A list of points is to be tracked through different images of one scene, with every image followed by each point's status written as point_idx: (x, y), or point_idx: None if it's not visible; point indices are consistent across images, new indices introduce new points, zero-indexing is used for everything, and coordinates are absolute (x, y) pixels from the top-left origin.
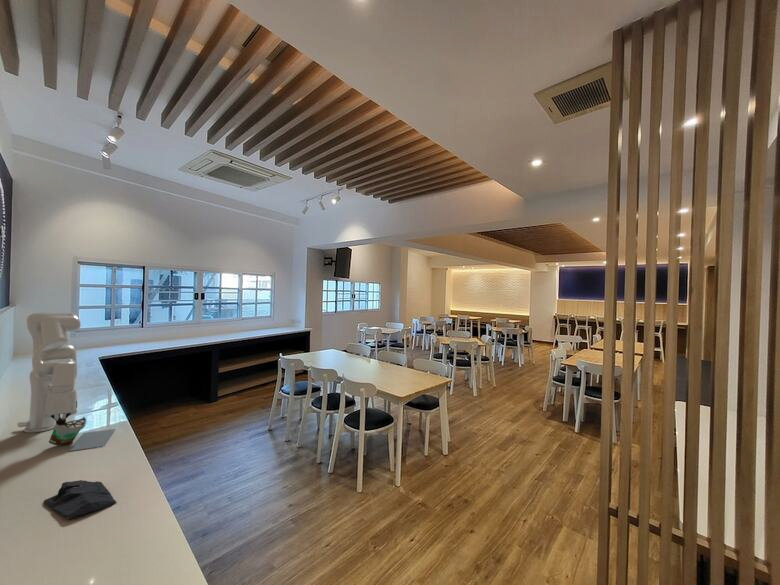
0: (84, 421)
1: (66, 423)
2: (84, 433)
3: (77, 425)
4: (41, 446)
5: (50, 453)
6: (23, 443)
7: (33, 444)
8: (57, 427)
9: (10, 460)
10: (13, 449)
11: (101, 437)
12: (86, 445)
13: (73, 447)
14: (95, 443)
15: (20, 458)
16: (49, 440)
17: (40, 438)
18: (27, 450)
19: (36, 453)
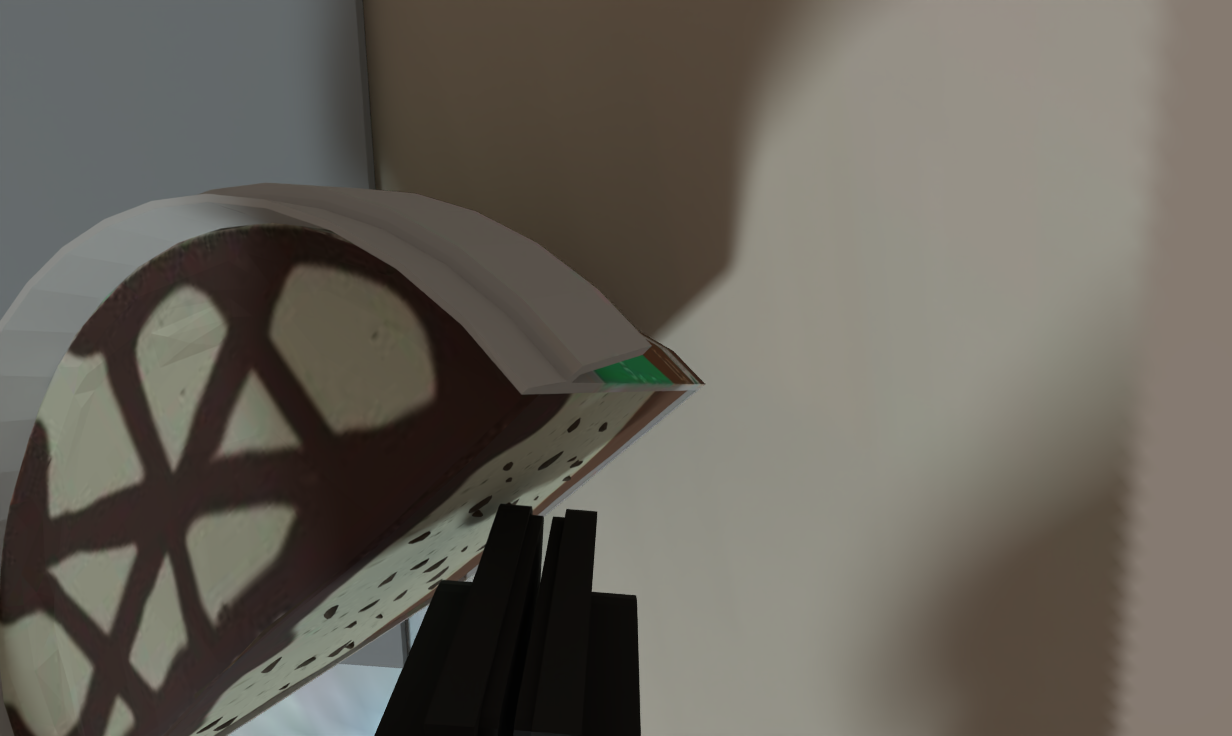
0: (7, 650)
1: (302, 537)
2: (383, 644)
3: (97, 461)
4: (781, 440)
5: (611, 35)
6: (972, 640)
7: (874, 558)
8: (484, 251)
9: (1112, 14)
10: (1065, 493)
11: None
12: (138, 93)
13: (321, 105)
14: (26, 125)
15: (990, 34)
16: (697, 382)
17: (825, 711)
18: (921, 368)
19: (804, 162)
